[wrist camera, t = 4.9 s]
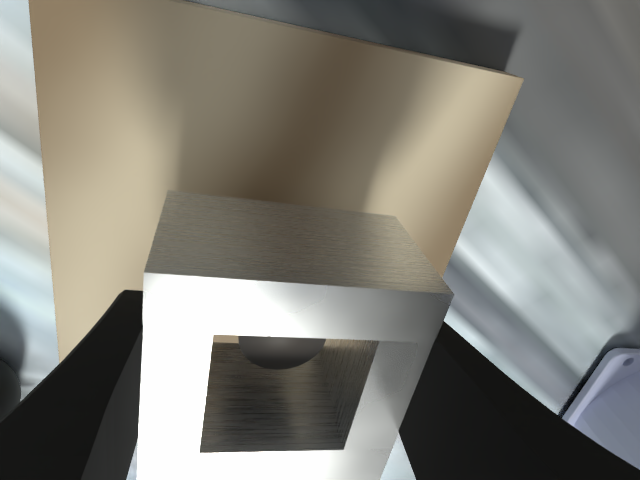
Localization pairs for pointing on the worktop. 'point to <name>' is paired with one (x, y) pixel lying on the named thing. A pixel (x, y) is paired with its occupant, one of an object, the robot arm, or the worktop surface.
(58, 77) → the tan peg board
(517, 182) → the worktop surface
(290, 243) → the collar
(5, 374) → the door handle
